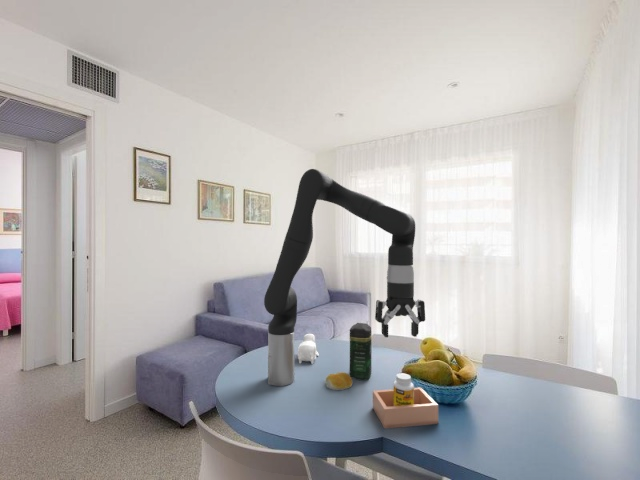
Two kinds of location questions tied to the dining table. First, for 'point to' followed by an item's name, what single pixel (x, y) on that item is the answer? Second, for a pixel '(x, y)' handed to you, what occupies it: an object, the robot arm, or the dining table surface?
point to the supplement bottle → (403, 390)
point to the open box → (405, 409)
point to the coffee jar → (360, 351)
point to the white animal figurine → (307, 349)
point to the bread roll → (338, 381)
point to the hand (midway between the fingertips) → (400, 336)
